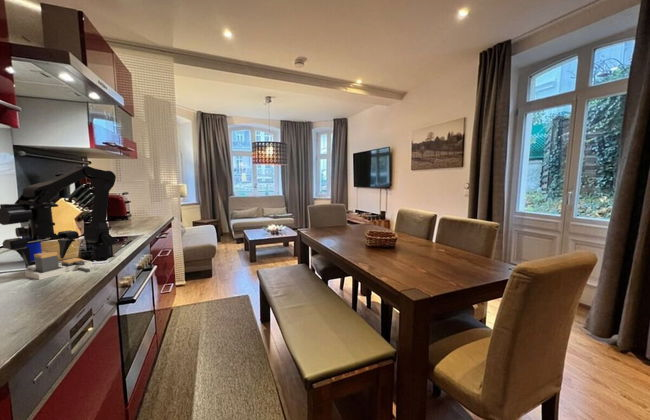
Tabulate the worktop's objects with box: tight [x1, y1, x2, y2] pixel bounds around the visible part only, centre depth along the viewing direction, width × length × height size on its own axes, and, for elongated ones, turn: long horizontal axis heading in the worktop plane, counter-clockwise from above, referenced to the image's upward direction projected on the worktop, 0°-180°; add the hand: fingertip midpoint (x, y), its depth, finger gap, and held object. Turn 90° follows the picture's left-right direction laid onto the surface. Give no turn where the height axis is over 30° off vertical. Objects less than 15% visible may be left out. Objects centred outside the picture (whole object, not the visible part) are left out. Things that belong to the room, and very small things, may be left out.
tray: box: [26, 259, 62, 270], centre depth 107 cm, size 9×9×1 cm
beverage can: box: [21, 225, 43, 263], centre depth 114 cm, size 5×5×15 cm
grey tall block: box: [34, 251, 59, 273], centre depth 99 cm, size 4×4×8 cm
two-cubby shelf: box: [24, 259, 93, 280], centre depth 103 cm, size 16×9×2 cm, turn 160°
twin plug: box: [60, 257, 91, 273], centre depth 105 cm, size 4×12×4 cm, turn 69°
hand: (46, 261), depth 99 cm, fingers open, 9 cm apart
